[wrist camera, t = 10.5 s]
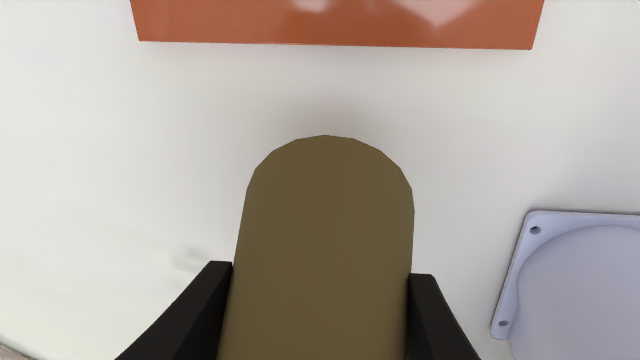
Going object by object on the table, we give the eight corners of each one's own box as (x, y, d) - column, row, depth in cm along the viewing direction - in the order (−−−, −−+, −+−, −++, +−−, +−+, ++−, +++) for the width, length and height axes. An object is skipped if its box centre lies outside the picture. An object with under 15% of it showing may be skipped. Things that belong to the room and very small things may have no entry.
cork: (442, 163, 14) (596, 663, 5) (381, 287, 17) (401, 729, 8) (261, 113, 14) (41, 552, 4) (234, 250, 17) (75, 668, 8)
